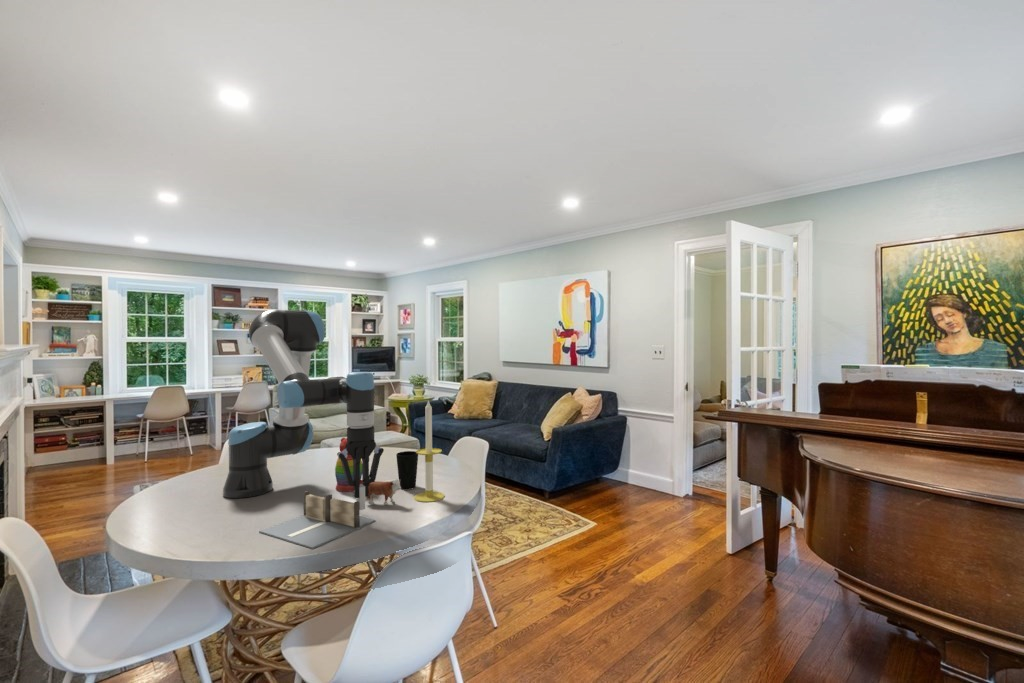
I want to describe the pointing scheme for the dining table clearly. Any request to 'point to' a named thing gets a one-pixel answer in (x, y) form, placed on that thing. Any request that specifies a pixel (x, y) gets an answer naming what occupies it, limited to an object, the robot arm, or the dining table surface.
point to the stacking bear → (339, 470)
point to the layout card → (311, 530)
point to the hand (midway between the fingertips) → (361, 508)
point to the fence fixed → (317, 506)
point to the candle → (428, 462)
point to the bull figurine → (383, 489)
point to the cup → (407, 468)
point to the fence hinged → (345, 512)
